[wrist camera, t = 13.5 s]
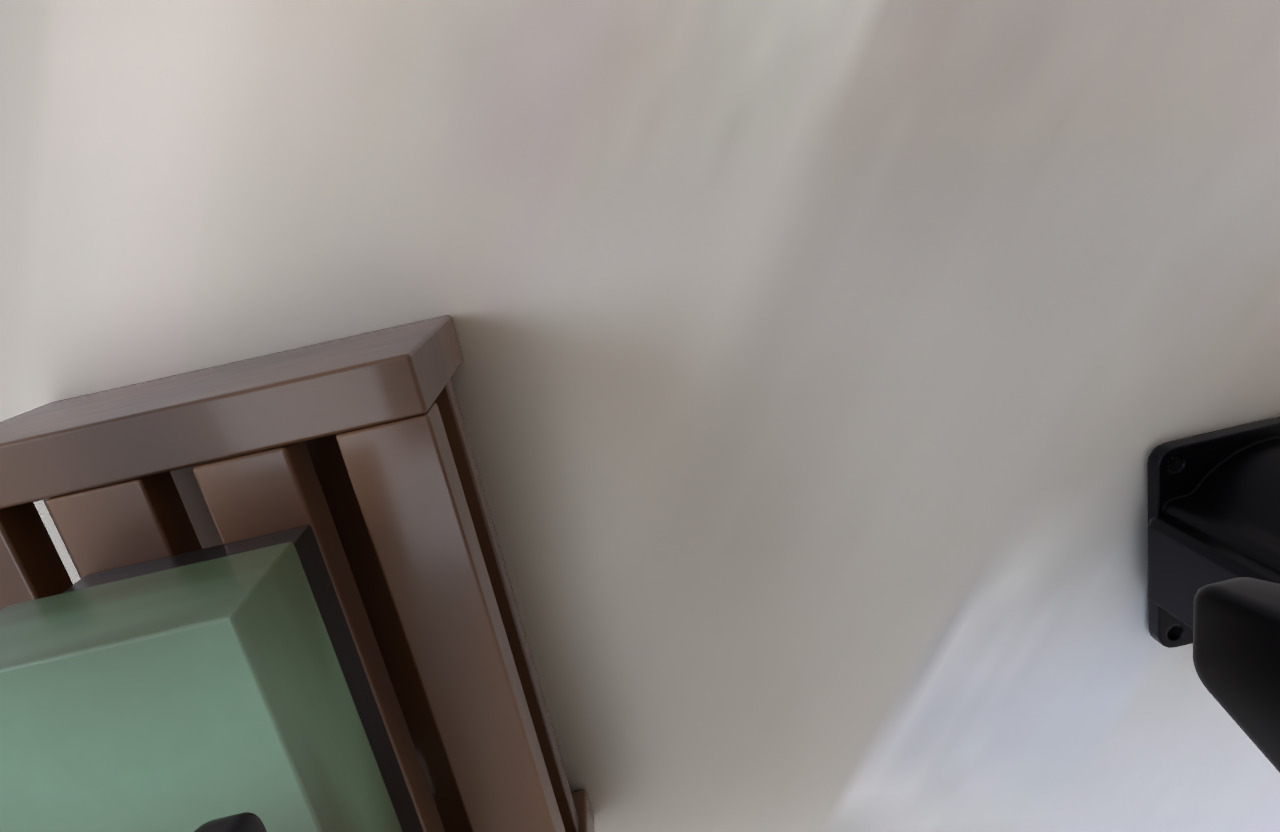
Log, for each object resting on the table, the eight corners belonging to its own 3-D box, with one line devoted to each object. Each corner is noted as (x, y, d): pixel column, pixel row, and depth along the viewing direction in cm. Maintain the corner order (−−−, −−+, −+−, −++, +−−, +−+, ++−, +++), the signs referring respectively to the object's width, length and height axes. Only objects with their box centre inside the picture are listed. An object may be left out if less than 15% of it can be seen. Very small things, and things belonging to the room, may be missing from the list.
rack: (451, 314, 18) (409, 353, 14) (594, 818, 23) (600, 980, 18) (49, 402, 18) (-137, 474, 13) (275, 895, 23) (195, 1079, 18)
